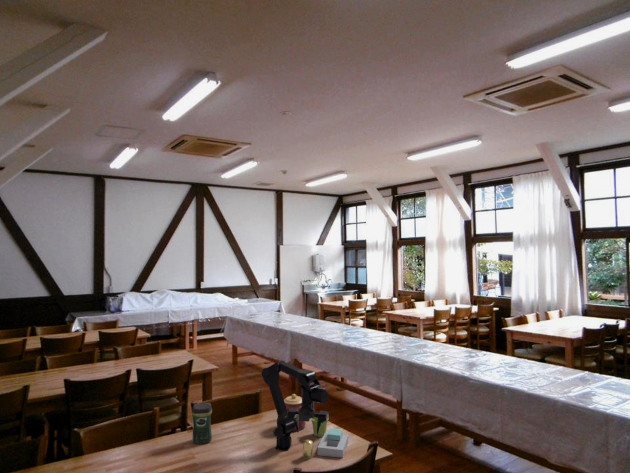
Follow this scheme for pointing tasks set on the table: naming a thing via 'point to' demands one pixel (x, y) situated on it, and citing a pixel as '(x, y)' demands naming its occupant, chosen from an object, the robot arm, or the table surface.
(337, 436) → the teal block
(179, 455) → the table surface
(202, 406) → the coffee jar
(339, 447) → the jig
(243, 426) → the table surface
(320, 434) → the plant pot
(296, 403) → the canister
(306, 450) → the brass cylinder
